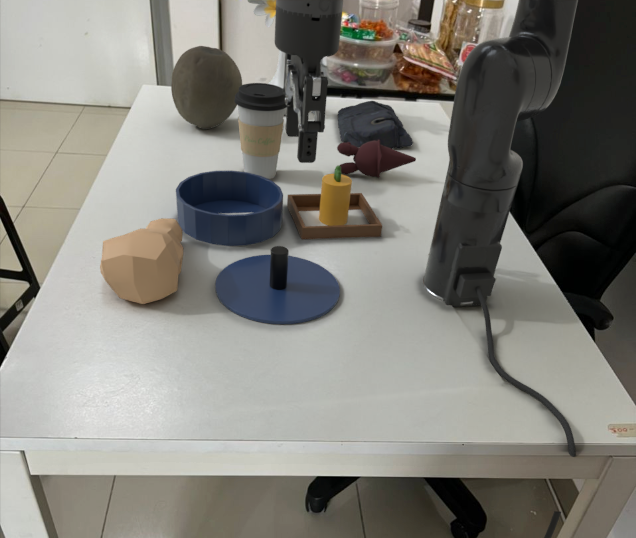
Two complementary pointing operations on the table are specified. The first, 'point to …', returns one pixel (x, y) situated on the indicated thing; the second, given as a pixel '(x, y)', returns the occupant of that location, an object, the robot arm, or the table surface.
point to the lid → (277, 288)
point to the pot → (229, 207)
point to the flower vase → (269, 8)
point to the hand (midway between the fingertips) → (299, 148)
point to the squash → (144, 261)
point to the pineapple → (335, 198)
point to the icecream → (372, 158)
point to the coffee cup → (260, 126)
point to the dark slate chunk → (372, 125)
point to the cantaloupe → (205, 86)
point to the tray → (336, 231)
